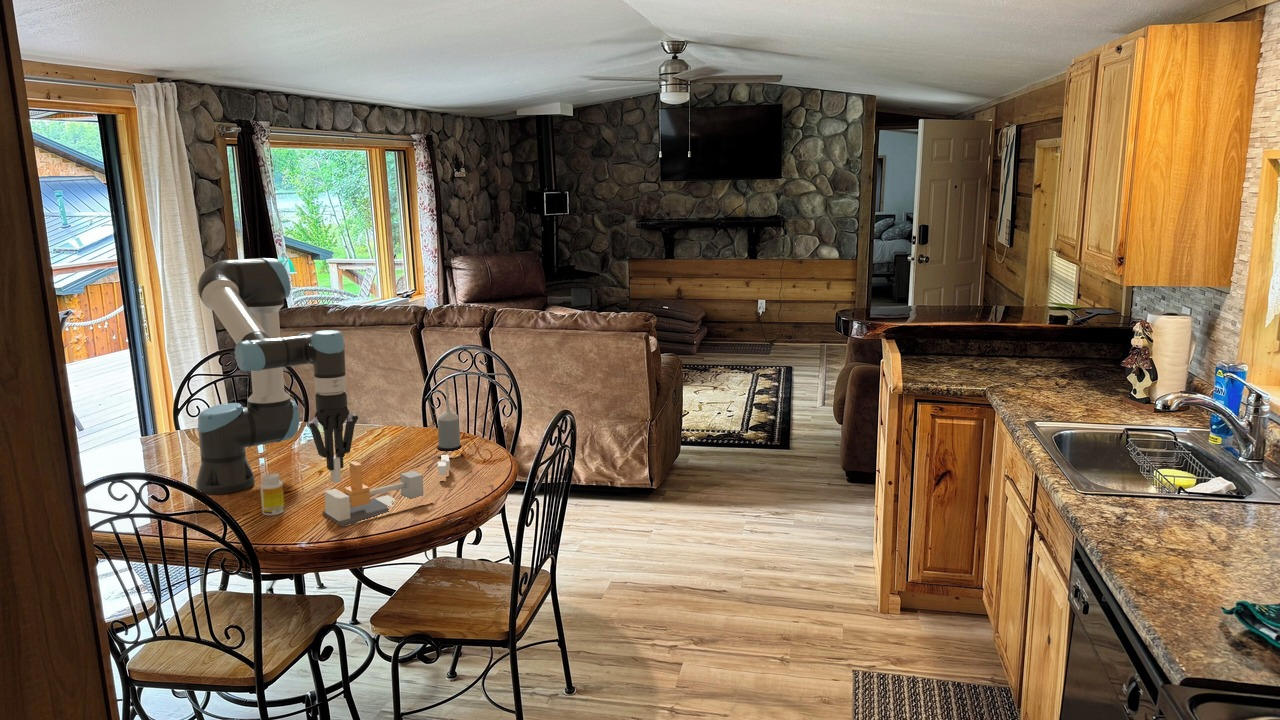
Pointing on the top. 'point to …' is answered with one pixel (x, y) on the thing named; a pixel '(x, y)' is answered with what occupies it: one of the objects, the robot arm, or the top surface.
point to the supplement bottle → (272, 495)
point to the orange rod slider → (357, 486)
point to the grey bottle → (448, 428)
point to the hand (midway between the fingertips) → (336, 481)
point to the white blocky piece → (443, 464)
